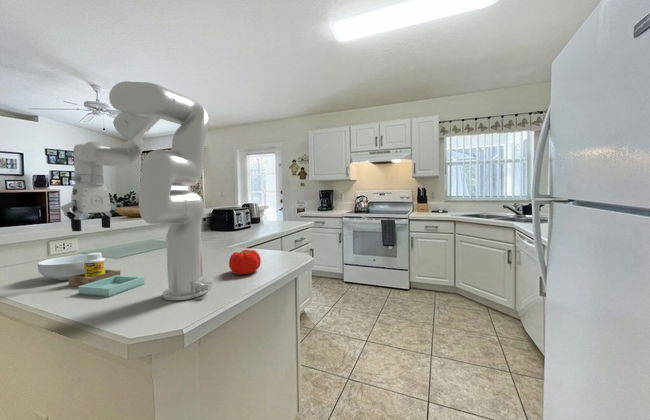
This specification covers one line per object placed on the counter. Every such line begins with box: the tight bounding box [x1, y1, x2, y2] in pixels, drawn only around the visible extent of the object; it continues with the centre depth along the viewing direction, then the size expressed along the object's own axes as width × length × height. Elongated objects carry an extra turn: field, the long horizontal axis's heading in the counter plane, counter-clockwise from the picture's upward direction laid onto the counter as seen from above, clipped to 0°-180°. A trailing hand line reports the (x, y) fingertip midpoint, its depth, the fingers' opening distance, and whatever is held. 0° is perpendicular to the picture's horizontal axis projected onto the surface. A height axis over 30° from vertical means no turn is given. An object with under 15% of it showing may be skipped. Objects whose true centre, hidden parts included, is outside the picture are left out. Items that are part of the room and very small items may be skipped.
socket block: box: [68, 269, 121, 287], centre depth 95 cm, size 10×10×3 cm
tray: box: [77, 275, 145, 298], centre depth 87 cm, size 12×12×2 cm
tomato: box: [228, 249, 262, 276], centre depth 104 cm, size 13×12×8 cm
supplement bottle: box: [84, 252, 106, 277], centre depth 95 cm, size 6×6×10 cm
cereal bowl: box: [37, 254, 87, 281], centre depth 101 cm, size 17×17×7 cm
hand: (92, 229), depth 94 cm, fingers open, 9 cm apart
